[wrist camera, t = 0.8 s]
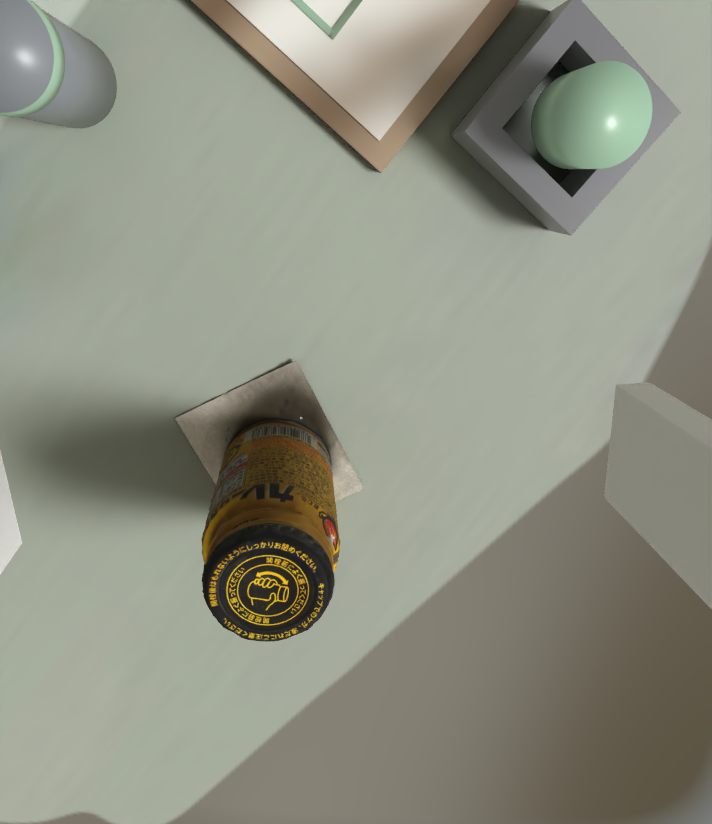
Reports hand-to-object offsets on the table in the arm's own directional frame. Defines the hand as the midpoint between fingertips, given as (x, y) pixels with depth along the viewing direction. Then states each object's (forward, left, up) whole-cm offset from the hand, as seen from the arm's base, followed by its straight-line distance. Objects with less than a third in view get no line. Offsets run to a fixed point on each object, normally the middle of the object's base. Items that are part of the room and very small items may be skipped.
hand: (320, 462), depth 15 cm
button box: (+4, +14, -22) cm, 26 cm away
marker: (-14, +1, -22) cm, 26 cm away
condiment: (+4, -8, -22) cm, 24 cm away
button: (+4, +14, -18) cm, 23 cm away
